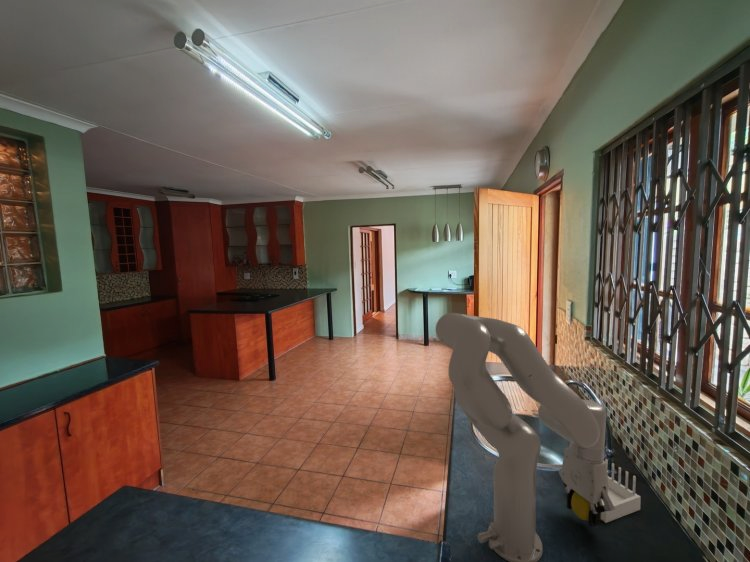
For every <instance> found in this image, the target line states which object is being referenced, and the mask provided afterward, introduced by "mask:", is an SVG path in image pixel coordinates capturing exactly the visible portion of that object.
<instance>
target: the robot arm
mask: <svg viewBox="0 0 750 562" xmlns="http://www.w3.org/2000/svg"><path fill="white" fill-rule="evenodd" d="M435 334H436V338H437V339H438V340H439V341H440V343H442V344H443V345H444V346H446V347H448V348H449V349H451V350H452V353H451V355H450V359H449V363H448V379H449V381H450V382H451V383H450V384H452V387H453V388H454V397H455V398H454V399H455V401H456V404H457V405H458V406H459V409H461V411H462V412H463V413H464V415H465V417H467V419H468V420H469V421H470V423H472V425H473V426H474V428H475V429H476V430H477V431H478V433H479V434H480V435H482V437H483V438H484V439H486V441H487V442H489V443H490V444H491V445H492V447H493V448H494V449H495V450H496V452H497V453H498V459H497V461H496V462H495V465H494V467H493V521H491V522H490V523H489V526H488V529H487V531H481V532H480V533H477V540H478V542H479V544H485V543H486V542H488V547H489V548H490V549H491V550H493V551H494V552H495V553H496V554H497V555H498V556H499V557H500V558H503V559H504V560H505V561H508V562H539V561H540V559H541V558H542V555H543V551H544V549H543V542H542V539H541V537H540V535H538V533H537V532H536V519H537V518H536V514H537V513H536V505H537V503H536V498H537V497H536V496H537V495H536V493H537V491H536V490H537V489H536V488H537V487H536V485H537V483H536V481H537V478H536V477H537V467H538V466H537V465H538V462H539V457H540V454H541V440H540V438H539V435H538V433H537V432H536V431H535V430H534V428H532V427H531V426H530V425H529V424H528V423H527V422H526V421H524V420H523V419H522V418H520V417H519V416H517V415H516V414H514V413H513V410H512V405H511V403H510V401H509V398H508V397H507V396H506V394H505V393H504V392H503V391H502V389H501V388H500V387H499V385H498V383H497V382H495V380H494V378H493V377H492V376H491V374H490V372H489V371H488V369H487V367H486V363H487V357H488V355H489V353H492V354H494V355H496V356H497V357H498V358H499V359H500V361H501V362H502V364H503V365H504V367H505V369H506V370H507V371H508V372H509V374H510V375H511V377H512V379H513V380H514V381H515V383H516V384H517V386H519V388H520V389H521V390H522V391H523V392H524V393H525V394H526V395H528V397H529V398H531V399H532V400H534V402H536V403H538V404H539V405H540V406H539V408H538V411H537V414H538V417H539V421H540V422H542V424H543V425H544V426H546V427H547V428H548V429H550V430H551V431H553V432H554V433H556V434H557V435H559V436H561V437H562V438H563V439H565V440H566V441H567V442H569V446H568V445H567V447H566V449H565V452H564V455H563V460H562V465H561V466H562V467H561V469H560V470H558V474H559V476H560V478H561V481H562V483H563V485H564V487H565V490H564V491H565V492H566V495H567V496H566V501H567V502H566V508H567V509H568V510H573V509H572V506H571V499H572V495H573V493H574V492H577V493H578V494H579V495H581V496H582V497H583V498H585V499H586V500H587V501H589V502H590V506H591V510H590V511H589V520H587V521H588V526H589V527H590V528H594V527H597V526H599V525H600V524H601V521H602V520H601V512H607V511H612V510H615V508H614V506H613V504H612V502H611V500H610V498H609V496H608V476H609V475H608V467H607V466H606V462H605V460H604V459H605V444H606V428H607V427H606V424H607V410H606V408H605V406H603V405H602V404H601V403H600V402H597V401H594V400H591V399H582V398H581V397H580V396H579V395H578V394H577V393H576V392H575V391H574V390H573V389H572V388H571V387H569V386H568V385H567V383H566V382H565V381H564V380H563V378H561V377H560V376H558V374H557V373H555V372H554V371H553V369H552V368H551V367H550V366H549V364H548V363H547V360H545V358H544V357H543V356H542V353H541V352H540V350H539V349H538V347H537V346H536V344H535V343H534V342H533V340H532V338H531V337H530V335H529V334H528V333H527V331H526V330H524V329H523V328H522V327H521V326H519V325H517V324H513V323H511V322H508V321H505V320H500V319H497V318H492V317H484V316H483V317H482V316H477V315H471V314H470V315H469V314H465V313H458V312H448V313H446V314H444V315H442V316H441V317H440V318H439V319H438V320H437V322H436V324H435ZM601 499H602V500H603V502H604V505H603V504H602V500H601ZM595 503H597V506H598V507H596V504H595Z"/></svg>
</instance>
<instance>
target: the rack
mask: <svg viewBox="0 0 750 562" xmlns="http://www.w3.org/2000/svg"><path fill="white" fill-rule="evenodd" d="M604 459H605V460H604V461H605V462H606V466H607V468H608V467H609V466H608V465H609V463H608V461H609V460H608V459H607V458H604ZM617 476H618V477H617V480H616V479H615V463H614V462H611V476H609V475H608V496H609V498H610V500H611V502H612V504H613V506H614V508H615V510H612V511H607V512H601V521H603V522H604V523H605V524H607V523H609V522H612V521H614V520H617V519H620V518H622V517H624V516H627V515H630V514H632V513H635V512H638V511H641V504H642V503H641V498H642V497H641V495H639V494H637V493H636V484H637V483H636V481H637V477H636V475H633V476H632V490H631V489H629V471H627V470H625V479H624V481H625V484H624V485H623V484H622V467H620V466H619V467H618V475H617ZM601 500H602V499H601ZM595 504H596V507H598V506H597V503H595ZM602 504H603V505H604V502H603V500H602Z"/></svg>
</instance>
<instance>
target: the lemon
mask: <svg viewBox="0 0 750 562" xmlns="http://www.w3.org/2000/svg"><path fill="white" fill-rule="evenodd" d="M571 506H572V509H571V510H572V511H573V513H574V514H575V515H576V516H577V518H579V519H580V520H582V521H589V511H590V510H591V506H590V502H589V501H587V500H586V499H585V498H583V497H582V496H581V495H579V494H578V493H577V492H574V493H573V495H572V499H571Z"/></svg>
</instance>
